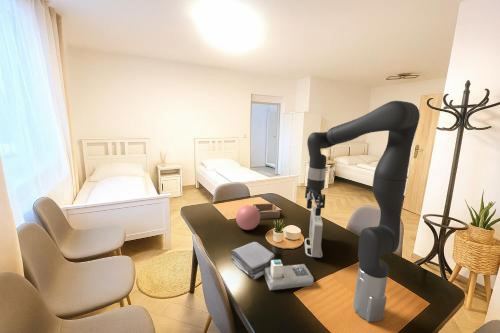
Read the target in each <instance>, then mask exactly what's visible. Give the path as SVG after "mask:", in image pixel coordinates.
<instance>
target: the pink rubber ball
mask: <svg viewBox="0 0 500 333" xmlns="http://www.w3.org/2000/svg"><path fill="white" fill-rule="evenodd" d="M259 210H260V209H257V208H255V207H253V205H249V204H247V205H243V206H240V208H239V209H238V210H237V212H236V214H235V220H236V224H237V225H238V226H239V227H240V228H241V229H242V230H246V231H250V230H251V231H252V230H254V229H255V228H257V226H258V225H260V222H261V219H260V214H259V212H260V211H261V210H260V211H259Z"/></svg>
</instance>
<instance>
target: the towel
mask: <svg viewBox="0 0 500 333" xmlns="http://www.w3.org/2000/svg"><path fill="white" fill-rule="evenodd" d="M230 254H231V258H230V260H231V261H232V263H234V264H235V266H237V268H238V269H239V270H241V271H243V272H244V273H245V274H247V275H248V276H249V277H251V279H252V280H257V279H258V278H260V277H261V276H264V268H269V267H271V260H276V259H275V257H276V255H275V253H273V252H272V251H270V250H269V249H267V248H266V247H265V246H263V245H262V244H260V243H259V242H257V241H252V242H249V243H247V244H245V245H244V244H243V246H240V247H237V248H234V249H232V250H231V251H230Z"/></svg>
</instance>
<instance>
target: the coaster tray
mask: <svg viewBox="0 0 500 333" xmlns="http://www.w3.org/2000/svg"><path fill="white" fill-rule="evenodd" d="M252 206H253V207H255V208H257V209H260V210H259V214H260V220H266V219H280V215H281V214H280V213H281V211H280V209H279V208H278V207H277V206H276V205H275V204H274V203H271V202H270V203H253V204H252Z"/></svg>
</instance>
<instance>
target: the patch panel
mask: <svg viewBox="0 0 500 333" xmlns="http://www.w3.org/2000/svg"><path fill="white" fill-rule="evenodd" d="M270 272H271V267H269V268H264V275H263V276H264V279H265V282H266V284H267V286H268V290H269V291H276V290H285V289H286V290H287V289H293V288H300V287H308V286H309V287H310V286H314V276H313V275H312V273H311V272H310V270H309V269H308V267H307V266H306V265H305V263H302V264H301V263H300V264H299V263H298V264H291V265H290V264H288V265H283V272H282V278H277V279H272V278H271V276H270Z"/></svg>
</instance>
